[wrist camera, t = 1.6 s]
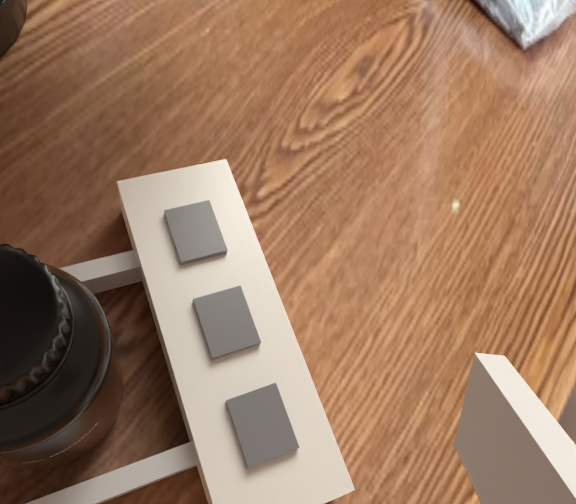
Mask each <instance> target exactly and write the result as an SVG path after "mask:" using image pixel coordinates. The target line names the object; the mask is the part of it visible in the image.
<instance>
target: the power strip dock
mask: <svg viewBox="0 0 576 504" xmlns="http://www.w3.org/2000/svg"><path fill="white" fill-rule="evenodd" d="M117 187H118V193H119V199H120V205H121V211H122V214H123V218H124V221H125V225H126V228H127V231H128V235H129V238H130V242H131V245H132V248H133V250H131V251H127V252H123V253H119V254H115V255H111V256H107V257H103V258H99V259H95V260H91V261H87V262H82V263H78V264H74V265H70V266H66V267H62V268H59V269H61V270H63V271H65V272H67V273H69V274H71V275H72V276H74V277H76V278H77V279H78V280H80V281H81V282H82V283H83V284H84V285H85V286H87V287H88V288H89V290H90V291H91V292H92V293H93V294H96V293H99V292H103V291H107V290H111V289H114V288H118V287H122V286H126V285H129V284H133V283H137V282H141V281H142V282H143V286H144V289H145V292H146V296H147V299H148V303H149V306H150V309H151V313H152V316H153V319H154V323H155V326H156V330H157V333H158V336H159V340H160V343H161V347H162V350H163V353H164V357H165V360H166V363H167V367H168V370H169V374H170V377H171V380H172V384H173V387H174V391H175V394H176V397H177V401H178V404H179V407H180V411H181V414H182V418H183V421H184V424H185V428H186V431H187V435H188V438H189V441H190V442H188V443H186V444H183V445H180V446H178V447H175V448H172V449H170V450H167V451H164V452H162V453H159V454H156V455H154V456H151V457H148V458H146V459H143V460H140V461H138V462H135V463H132V464H130V465H127V466H124V467H122V468H119V469H116V470H114V471H111V472H108V473H106V474H103V475H100V476H98V477H95V478H92V479H90V480H87V481H84V482H82V483H79V484H76V485H74V486H71V487H68V488H66V489H63V490H60V491H58V492H55V493H52V494H50V495H47V496H44V497H41V498H39V499H36V500H33V501H31V502H28V503H25V504H101V503H104V502H106V501H109V500H111V499H114V498H116V497H119V496H121V495H124V494H127V493H129V492H132V491H134V490H137V489H139V488H142V487H144V486H147V485H150V484H152V483H155V482H157V481H160V480H162V479H165V478H167V477H170V476H173V475H175V474H178V473H180V472H183V471H185V470H188V469H190V468H193V467H196V466H197V468H198V472H199V475H200V479H201V482H202V485H203V489H204V492H205V496H206V499H207V502H208V504H325V503H327V502H329V501H331V500H334V499H336V498H338V497H340V496H342V495H345V494H347V493H349V492H351V491H354V490H355V489H354V486H353V483H352V481H351V478H350V476H349V473H348V471H347V468H346V465H345V463H344V460H343V458H342V455H341V453H340V450H339V447H338V445H337V442H336V440H335V437H334V435H333V432H332V429H331V427H330V424H329V422H328V419H327V417H326V414H325V411H324V409H323V406H322V404H321V401H320V399H319V396H318V393H317V391H316V388H315V386H314V383H313V381H312V378H311V375H310V373H309V370H308V368H307V365H306V363H305V360H304V357H303V355H302V352H301V350H300V347H299V345H298V342H297V340H296V337H295V334H294V332H293V329H292V327H291V324H290V322H289V319H288V316H287V314H286V311H285V309H284V306H283V304H282V301H281V298H280V296H279V293H278V291H277V288H276V286H275V283H274V280H273V278H272V275H271V273H270V270H269V268H268V265H267V262H266V260H265V257H264V255H263V252H262V250H261V247H260V244H259V242H258V239H257V237H256V234H255V232H254V229H253V226H252V224H251V221H250V219H249V216H248V214H247V211H246V208H245V206H244V203H243V201H242V198H241V196H240V193H239V190H238V188H237V185H236V183H235V180H234V178H233V175H232V172H231V170H230V167H229V165H228V162H227V160H226V159H224V160H219V161H214V162H209V163H204V164H199V165H194V166H189V167H184V168H179V169H174V170H169V171H164V172H159V173H154V174H150V175H145V176H140V177H135V178H130V179H125V180H120V181H117Z"/></svg>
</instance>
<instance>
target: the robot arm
mask: <svg viewBox="0 0 576 504" xmlns="http://www.w3.org/2000/svg"><path fill="white" fill-rule="evenodd" d="M26 10H27V0H0V56H1V55H2V54H3V53H4V52H5V51H6V50H7V49H8V48H9V46H10V45H11V44H12V43H13V41H14V40H15V39H16V37H17V35H18V34H19V32H20V30H21V28H22V26H23V23H24V20H25V16H26ZM454 446H455V448H456V450H457V452H458V455H459V457H460V459H461V461H462V463H463V466H464V468H465V470H466V472H467V474H468V476H469V479H470V481H471V483H472V485H473V487H474V490H475V492H476V494H477V496H478V498H479V500H480V503H481V504H576V445H575V444H574V442H573V441H572V440H571V439H570V437H569V436H568V435H567V434H566V433H565V431H564V430H563V429H562V427H561V426H560V425H559V423H558V422H557V421H556V420H555V418H554V417H553V416H552V415H551V413H550V412H549V411H548V410H547V408H546V407H545V406H544V405H543V403H542V402H541V401H540V400H539V398H538V397H537V396H536V395H535V393H534V392H533V391H532V390H531V388H530V387H529V386H528V385H527V383H526V382H525V381H524V380H523V378H522V377H521V376H520V375H519V373H518V372H517V371H516V370H515V368H514V367H513V366H512V365H511V363H510V362H509V361H508V360H507V358H506V357H505V356H502V355H491V354H480V353H475V354H474V358H473V362H472V367H471V371H470V376H469V380H468V384H467V389H466V393H465V398H464V402H463V406H462V411H461V415H460V420H459V424H458V428H457V433H456V437H455V441H454Z"/></svg>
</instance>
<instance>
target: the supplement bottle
mask: <svg viewBox="0 0 576 504" xmlns="http://www.w3.org/2000/svg"><path fill="white" fill-rule="evenodd" d="M122 395H123V377H122V371H121V366H120V363H119V359H118V356H117V352H116V348H115V345H114V341H113V337H112V334H111V330H110V327H109V323H108V320H107V318H106V315H105V313H104V310H103V309H102V307H101V305H100V303H99V301H98V300H97V298H96V297H95V295H94V294H93V293H92V292H91V291H90V290H89V288H88V287H87V286H85V285H84V284H83V283H82V282H81V281H80V280H78V279H77V278H76V277H74V276H72V275H71V274H69V273H67V272H65V271H63V270H61V269H59V268H57V267H54V266H51V265H48V264H44V263H41V262H40V261H39V259H38V258H37V257H36V256H34V255H30V254H27V252H26V251H24V250H23V249H20V248H13V247H12V246H10V245H8V244H2V245H0V464H3V465H6V466H10V467H15V468H20V469H27V470H40V469H49V468H54V467H58V466H61V465H64V464H67V463H69V462H71V461H74V460H76V459H77V458H79V457H81V456H83V455H84V454H85V453H87V452H88V451H90V450H91V449H92V448H93V447H94V446H96V445H97V444H98V443H99V442H100V441H101V440H102V438H103V437H104V436H105V435H106V434H107V432H108V431H109V429H110V428H111V426H112V424H113V423H114V421H115V419H116V417H117V414H118V412H119V409H120V405H121V401H122Z"/></svg>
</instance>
